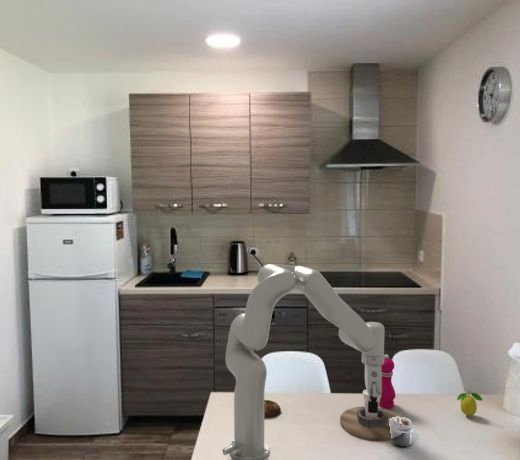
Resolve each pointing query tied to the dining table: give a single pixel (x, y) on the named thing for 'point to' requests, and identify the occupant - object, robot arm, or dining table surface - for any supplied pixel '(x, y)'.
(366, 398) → the smoothie
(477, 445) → the dining table surface
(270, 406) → the bread roll
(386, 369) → the pepper mill
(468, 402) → the lemon
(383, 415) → the carrier plate
